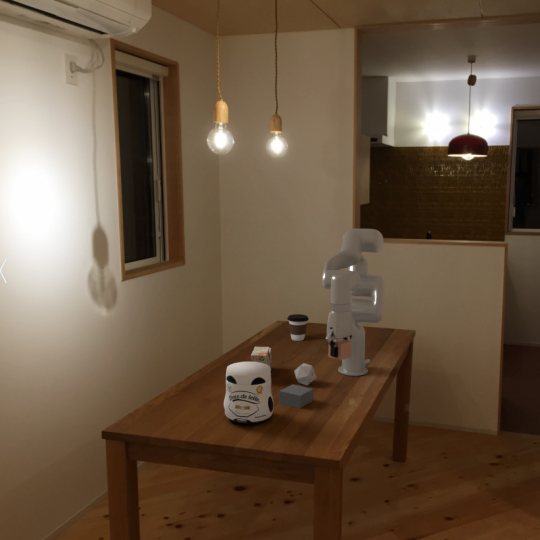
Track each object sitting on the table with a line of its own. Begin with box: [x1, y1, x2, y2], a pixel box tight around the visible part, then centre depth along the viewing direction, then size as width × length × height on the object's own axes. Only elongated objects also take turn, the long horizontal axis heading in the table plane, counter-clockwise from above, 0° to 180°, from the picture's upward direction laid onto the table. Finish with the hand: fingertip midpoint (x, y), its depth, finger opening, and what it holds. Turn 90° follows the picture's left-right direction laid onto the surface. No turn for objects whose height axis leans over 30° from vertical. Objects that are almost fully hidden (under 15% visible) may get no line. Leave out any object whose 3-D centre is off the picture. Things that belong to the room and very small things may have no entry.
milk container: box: [223, 361, 275, 425], centre depth 218 cm, size 17×17×18 cm
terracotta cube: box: [327, 338, 352, 361], centre depth 234 cm, size 6×6×6 cm
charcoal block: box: [278, 384, 314, 409], centre depth 234 cm, size 9×9×5 cm
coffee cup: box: [286, 313, 309, 342], centre depth 322 cm, size 11×11×12 cm
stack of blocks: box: [250, 346, 272, 371], centre depth 264 cm, size 21×6×12 cm, turn 174°
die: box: [294, 362, 317, 387], centre depth 255 cm, size 8×9×10 cm
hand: (339, 354), depth 234 cm, fingers closed on terracotta cube, 6 cm apart
